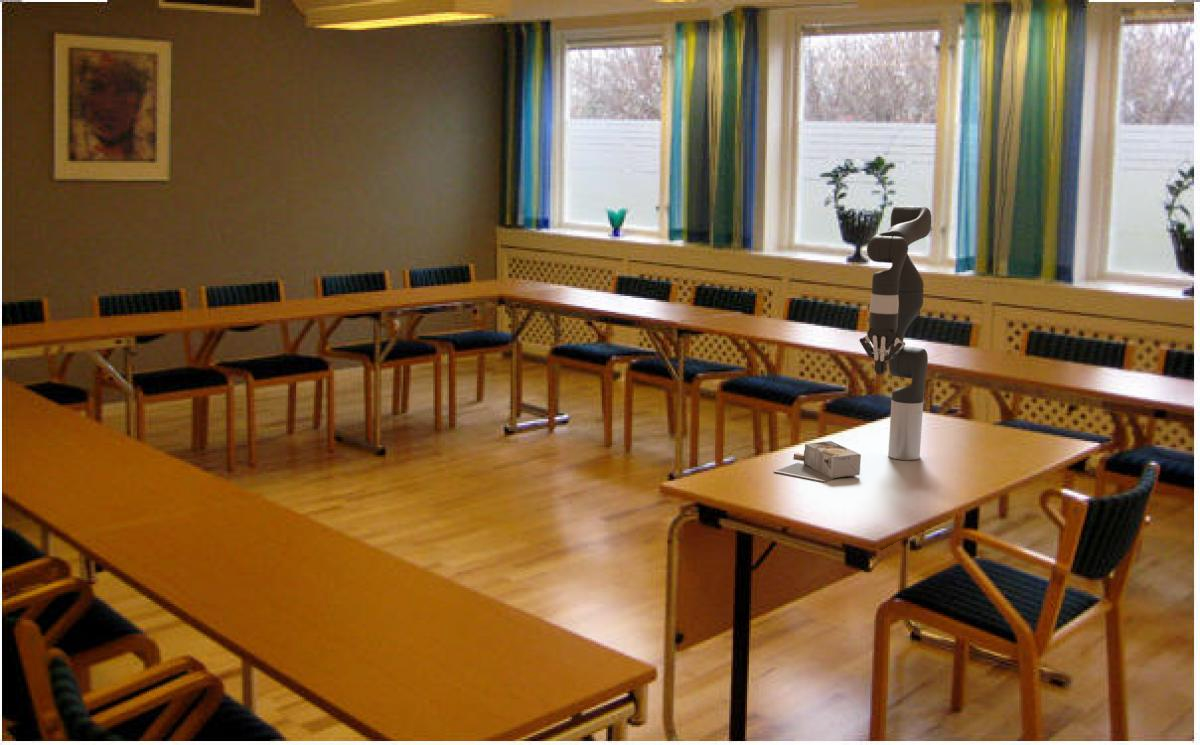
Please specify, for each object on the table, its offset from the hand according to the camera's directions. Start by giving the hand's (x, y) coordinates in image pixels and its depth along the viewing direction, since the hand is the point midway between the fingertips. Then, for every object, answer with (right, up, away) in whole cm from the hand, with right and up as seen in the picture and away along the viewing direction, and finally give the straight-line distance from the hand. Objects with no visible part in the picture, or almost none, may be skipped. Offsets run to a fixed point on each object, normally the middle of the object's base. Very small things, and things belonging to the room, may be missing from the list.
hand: (880, 374), depth 366 cm
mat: (-16, -28, +17) cm, 37 cm away
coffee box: (-7, -26, +11) cm, 29 cm away
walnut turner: (-11, -26, +30) cm, 41 cm away
